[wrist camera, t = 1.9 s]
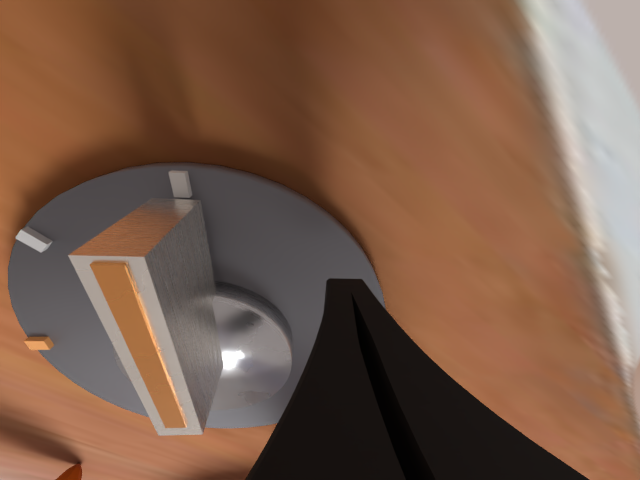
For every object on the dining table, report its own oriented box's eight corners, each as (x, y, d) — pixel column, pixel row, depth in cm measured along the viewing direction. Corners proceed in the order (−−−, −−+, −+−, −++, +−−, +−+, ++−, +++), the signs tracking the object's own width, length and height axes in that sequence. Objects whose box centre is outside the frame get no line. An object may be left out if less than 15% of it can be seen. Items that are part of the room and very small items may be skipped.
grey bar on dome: (292, 385, 17) (288, 477, 13) (154, 387, 17) (104, 485, 13) (294, 197, 11) (287, 262, 7) (67, 187, 10) (-101, 253, 6)
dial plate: (358, 411, 21) (361, 429, 20) (105, 416, 20) (93, 436, 19) (417, 173, 12) (429, 181, 10) (-71, 149, 10) (-118, 156, 9)
